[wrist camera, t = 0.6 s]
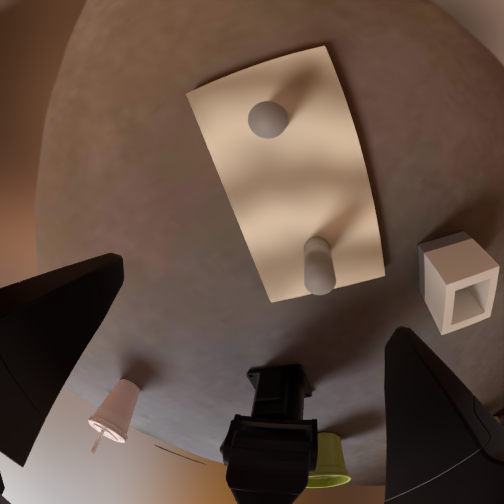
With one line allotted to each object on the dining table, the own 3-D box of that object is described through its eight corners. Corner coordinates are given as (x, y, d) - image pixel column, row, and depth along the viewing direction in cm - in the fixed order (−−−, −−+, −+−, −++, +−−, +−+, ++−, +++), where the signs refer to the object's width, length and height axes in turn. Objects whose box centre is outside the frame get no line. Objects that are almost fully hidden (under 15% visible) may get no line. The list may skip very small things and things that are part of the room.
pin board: (382, 269, 22) (399, 310, 17) (272, 295, 25) (265, 339, 20) (323, 48, 15) (333, 26, 10) (191, 94, 18) (156, 90, 13)
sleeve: (462, 277, 21) (490, 316, 16) (419, 290, 22) (441, 335, 17) (464, 230, 19) (499, 265, 14) (417, 244, 20) (446, 284, 15)
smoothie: (125, 370, 36) (85, 444, 24) (154, 395, 38) (123, 467, 26) (106, 376, 38) (70, 440, 26) (134, 398, 40) (103, 462, 28)
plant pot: (358, 427, 35) (360, 474, 28) (339, 448, 40) (339, 487, 32) (301, 425, 36) (297, 474, 28) (290, 445, 41) (285, 487, 33)
